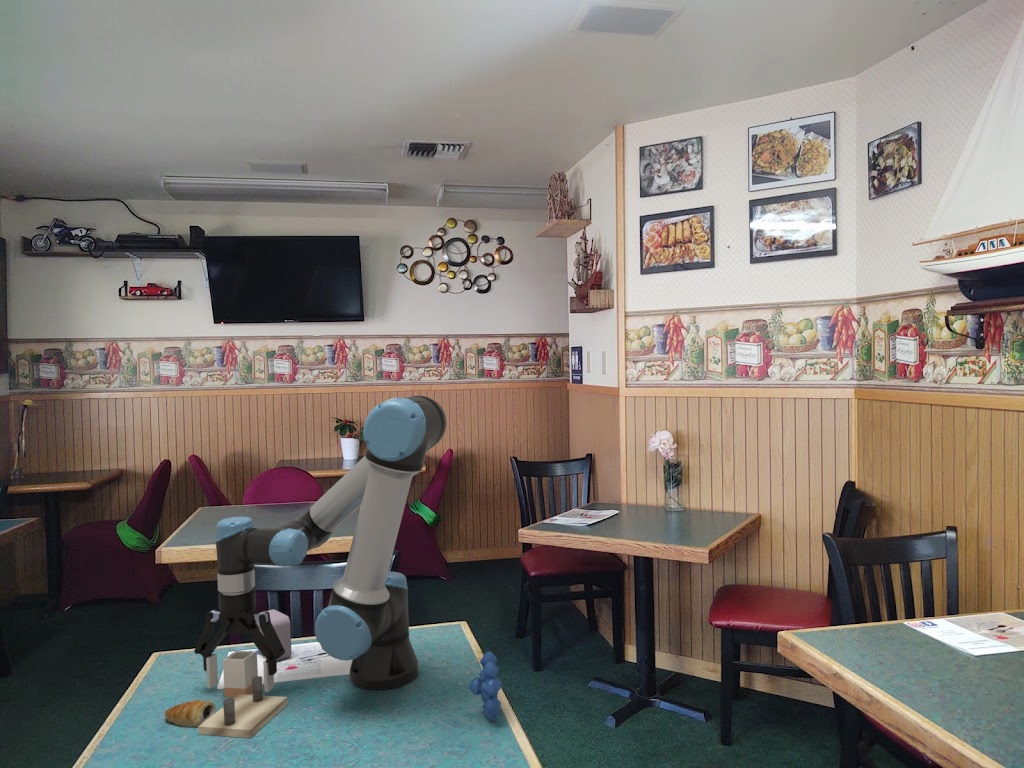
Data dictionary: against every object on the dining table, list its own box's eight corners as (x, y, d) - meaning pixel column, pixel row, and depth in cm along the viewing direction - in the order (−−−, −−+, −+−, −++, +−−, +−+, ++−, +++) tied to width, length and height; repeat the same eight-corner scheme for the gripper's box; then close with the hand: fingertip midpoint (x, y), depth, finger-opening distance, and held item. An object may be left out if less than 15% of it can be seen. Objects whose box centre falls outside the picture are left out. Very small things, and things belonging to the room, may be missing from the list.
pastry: (157, 726, 147) (156, 707, 147) (178, 711, 153) (177, 693, 153) (200, 729, 145) (199, 709, 145) (219, 713, 152) (219, 694, 152)
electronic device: (255, 653, 183) (253, 612, 183) (273, 647, 186) (271, 608, 186) (273, 664, 176) (271, 622, 175) (291, 658, 179) (289, 617, 178)
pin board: (287, 704, 154) (286, 675, 154) (250, 738, 140) (248, 706, 140) (239, 701, 156) (238, 672, 156) (198, 734, 143) (196, 703, 142)
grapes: (467, 703, 151) (465, 645, 151) (500, 700, 152) (498, 642, 152) (471, 731, 140) (468, 668, 139) (506, 727, 140) (504, 665, 140)
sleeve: (258, 687, 162) (256, 651, 162) (245, 698, 158) (244, 660, 157) (237, 686, 164) (236, 650, 163) (224, 696, 159) (222, 659, 158)
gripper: (298, 586, 161) (302, 683, 162) (196, 582, 166) (200, 676, 167) (280, 597, 154) (284, 698, 154) (174, 593, 159) (178, 691, 159)
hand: (240, 687), depth 161 cm, fingers open, 13 cm apart
